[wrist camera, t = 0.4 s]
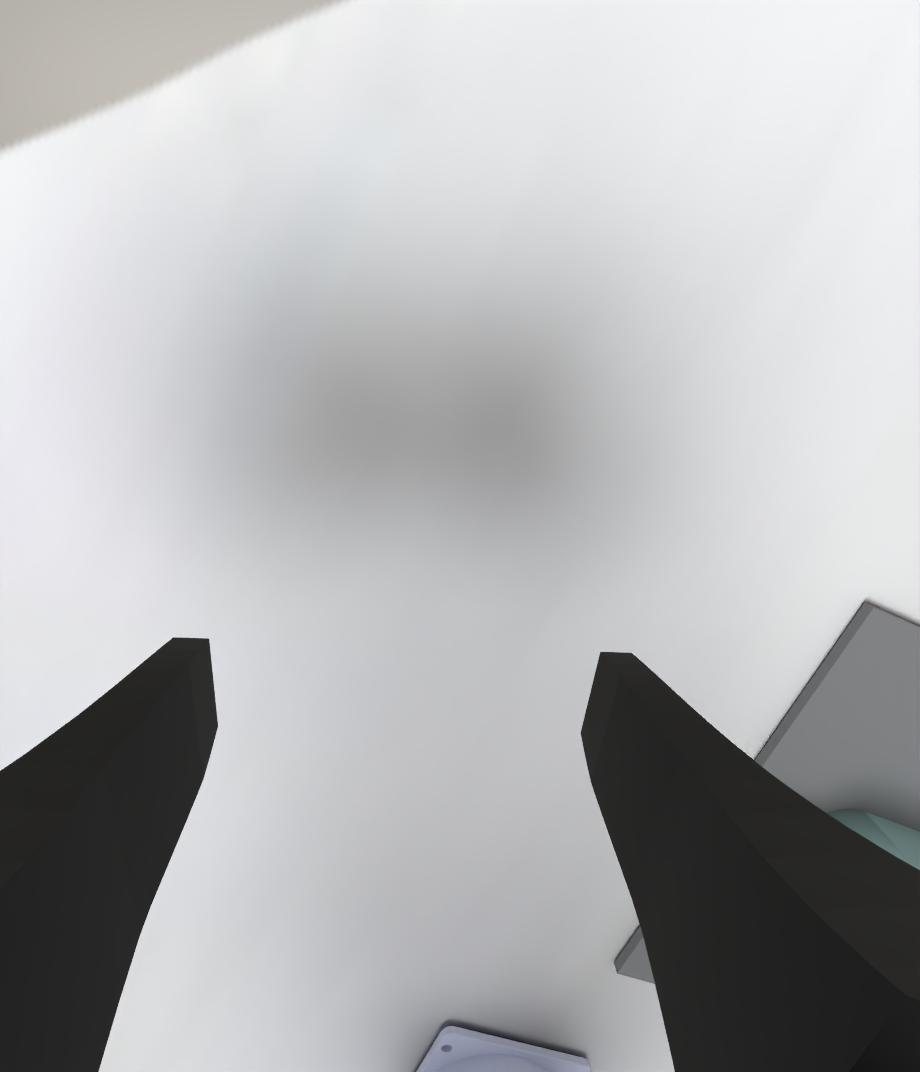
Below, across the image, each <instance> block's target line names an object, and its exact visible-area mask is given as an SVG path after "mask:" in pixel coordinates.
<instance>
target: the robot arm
mask: <svg viewBox="0 0 920 1072" xmlns="http://www.w3.org/2000/svg"><path fill="white" fill-rule="evenodd" d="M217 728H218V722H217V712H216V703H215V693H214V683H213V673H212V664H211V654H210V644H209V639H202V638H172V639H171V640H170V641H168V642H167V643H166V644H165V645H163V646H162V647H161V648H160V649H159V650H157V651H156V652H155V653H154V654H153V655H151V656H150V657H149V658H148V659H146V660H145V661H144V662H143V663H142V664H140V665H139V666H138V667H137V668H136V669H134V670H133V671H132V672H131V673H130V674H128V675H127V676H126V677H125V678H124V679H122V680H121V681H120V682H119V683H118V684H116V685H115V686H114V687H113V688H112V689H110V690H109V691H108V692H107V693H105V694H104V695H103V696H102V697H100V698H99V699H98V700H97V701H95V702H94V703H93V704H92V705H90V706H89V707H88V708H87V709H85V710H84V711H83V712H82V713H80V714H79V715H78V716H76V717H75V718H74V719H72V720H71V721H69V722H68V723H67V724H65V725H64V726H63V727H61V728H60V729H59V730H57V731H56V732H55V733H53V734H52V735H50V736H49V737H48V738H46V739H45V740H44V741H42V742H41V743H40V744H38V745H37V746H36V747H34V748H33V749H31V750H30V751H29V752H27V753H26V754H24V755H23V756H22V757H20V758H19V759H17V760H16V761H14V762H13V763H11V764H10V765H8V766H7V767H5V768H4V769H2V770H1V771H0V1072H98V1071H99V1068H100V1064H101V1061H102V1057H103V1054H104V1051H105V1047H106V1044H107V1041H108V1037H109V1034H110V1030H111V1027H112V1024H113V1020H114V1017H115V1013H116V1010H117V1007H118V1003H119V1000H120V997H121V994H122V991H123V987H124V984H125V981H126V978H127V975H128V971H129V968H130V965H131V962H132V959H133V955H134V952H135V949H136V946H137V943H138V939H139V936H140V933H141V931H142V928H143V925H144V923H145V920H146V917H147V915H148V912H149V909H150V907H151V904H152V902H153V899H154V897H155V895H156V892H157V890H158V887H159V885H160V883H161V880H162V878H163V875H164V873H165V871H166V868H167V866H168V863H169V861H170V859H171V856H172V854H173V852H174V849H175V847H176V844H177V842H178V840H179V837H180V835H181V832H182V830H183V828H184V825H185V823H186V820H187V818H188V816H189V813H190V811H191V808H192V806H193V803H194V801H195V799H196V796H197V794H198V791H199V789H200V786H201V784H202V781H203V778H204V775H205V771H206V768H207V765H208V761H209V758H210V754H211V750H212V747H213V743H214V739H215V735H216V731H217ZM581 737H582V742H583V747H584V752H585V757H586V762H587V766H588V770H589V775H590V779H591V783H592V786H593V789H594V792H595V795H596V798H597V801H598V804H599V807H600V810H601V813H602V816H603V818H604V821H605V824H606V827H607V830H608V833H609V835H610V838H611V841H612V844H613V847H614V850H615V852H616V855H617V858H618V861H619V864H620V866H621V869H622V872H623V875H624V878H625V881H626V883H627V886H628V889H629V892H630V895H631V897H632V900H633V904H634V907H635V910H636V913H637V917H638V920H639V923H640V926H641V930H642V934H643V938H644V942H645V946H646V950H647V954H648V958H649V962H650V966H651V970H652V974H653V978H654V982H655V986H656V990H657V994H658V998H659V1003H660V1007H661V1011H662V1016H663V1020H664V1025H665V1029H666V1033H667V1038H668V1042H669V1046H670V1051H671V1055H672V1060H673V1065H674V1069H675V1072H920V870H919V869H917V868H915V867H913V866H912V865H910V864H908V863H906V862H905V861H903V860H901V859H899V858H898V857H896V856H894V855H893V854H891V853H889V852H888V851H886V850H884V849H883V848H881V847H879V846H878V845H876V844H875V843H873V842H871V841H870V840H868V839H866V838H865V837H863V836H861V835H860V834H858V833H857V832H855V831H853V830H852V829H850V828H848V827H847V826H845V825H844V824H842V823H841V822H839V821H838V820H836V819H835V818H833V817H832V816H830V815H828V814H827V813H825V812H824V811H822V810H821V809H820V808H818V807H817V806H815V805H814V804H812V803H811V802H810V801H808V800H807V799H805V798H804V797H803V796H801V795H800V794H798V793H797V792H795V791H794V790H793V789H791V788H790V787H788V786H787V785H785V784H784V783H783V782H781V781H780V780H779V779H777V778H776V777H775V776H773V775H772V774H771V773H769V772H768V771H767V770H766V769H764V768H763V767H762V766H760V765H759V764H758V763H757V762H755V761H754V760H753V759H752V758H751V757H749V756H748V755H747V754H746V753H744V752H743V751H742V750H741V749H739V748H738V747H737V746H736V745H734V744H733V743H732V742H731V741H730V740H728V739H727V738H726V737H725V736H724V735H722V734H721V733H720V732H719V731H718V730H717V729H715V728H714V727H713V726H712V725H711V724H710V723H709V722H707V721H706V720H705V719H704V718H703V717H702V716H701V715H700V714H698V713H697V712H696V711H695V710H694V709H693V708H692V707H691V706H690V705H688V704H687V703H686V702H685V701H684V700H683V699H682V698H681V697H680V696H679V695H677V694H676V693H675V692H674V691H673V690H672V689H671V688H670V687H669V686H668V685H667V684H666V683H664V682H663V681H662V680H661V679H660V678H659V677H658V676H657V675H656V674H655V673H654V672H653V671H651V670H650V669H649V668H648V667H647V666H646V665H645V664H644V663H643V662H641V661H640V660H639V659H638V658H637V657H636V656H634V655H633V654H632V653H617V652H600V656H599V660H598V664H597V668H596V672H595V677H594V681H593V685H592V689H591V693H590V697H589V701H588V705H587V709H586V714H585V718H584V722H583V726H582V730H581ZM416 1072H591V1068H590V1064H589V1061H588V1060H587V1059H585V1058H583V1057H578V1056H574V1055H570V1054H566V1053H562V1052H558V1051H554V1050H550V1049H546V1048H542V1047H538V1046H533V1045H529V1044H525V1043H521V1042H517V1041H513V1040H509V1039H505V1038H501V1037H497V1036H492V1035H488V1034H484V1033H480V1032H476V1031H472V1030H468V1029H464V1028H460V1027H456V1026H447V1027H445V1028H444V1029H443V1030H442V1031H441V1032H440V1034H439V1035H438V1037H437V1039H436V1040H435V1042H434V1044H433V1045H432V1047H431V1048H430V1050H429V1052H428V1053H427V1055H426V1057H425V1058H424V1060H423V1062H422V1063H421V1065H420V1066H419V1068H418V1070H417V1071H416Z"/></svg>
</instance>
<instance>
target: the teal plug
mask: <svg viewBox="0 0 920 1072" xmlns="http://www.w3.org/2000/svg"><path fill="white" fill-rule="evenodd" d="M827 814H828V815H830V816H832V817H833V818H835V819H836V820H838V821H839V822H841V823H842V824H844V825H845V826H847V827H848V828H850V829H852V830H853V831H855V832H857V833H858V834H860V835H861V836H863V837H865V838H866V839H868V840H870V841H871V842H873V843H875V844H876V845H878V846H879V847H881V848H883V849H884V850H886V851H888V852H889V853H891V854H893V855H894V856H896V857H898V858H899V859H901V860H903V861H905V862H906V863H908V864H910V865H912V866H913V867H915V868H917V869H919V870H920V831H917V830H914V829H911V828H909V827H906V826H903V825H900V824H898V823H895V822H892V821H889V820H887V819H884V818H881V817H878V816H876V815H873V814H870V813H867V812H865V811H861V810H856V809H842V810H837V811H833V812H830V813H827Z"/></svg>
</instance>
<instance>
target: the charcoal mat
mask: <svg viewBox="0 0 920 1072" xmlns="http://www.w3.org/2000/svg"><path fill="white" fill-rule="evenodd" d="M755 762H757V763H758V764H759V765H760V766H762V767H763V768H764V769H766V770H767V771H768V772H769V773H771V774H772V775H773V776H775V777H776V778H777V779H779V780H780V781H781V782H783V783H784V784H785V785H787V786H788V787H790V788H791V789H793V790H794V791H795V792H797V793H798V794H800V795H801V796H803V797H804V798H805V799H807V800H808V801H810V802H811V803H812V804H814V805H815V806H817V807H818V808H820V809H821V810H822V811H824V812H825V813H830V812H833V811H837V810H842V809H856V810H861V811H865V812H867V813H870V814H873V815H876V816H878V817H881V818H884V819H887V820H889V821H892V822H895V823H898V824H900V825H903V826H906V827H909V828H911V829H914V830H917V831H920V626H918V625H916V624H913V623H911V622H909V621H907V620H904V619H902V618H900V617H898V616H895V615H893V614H891V613H889V612H886V611H884V610H882V609H880V608H877V607H875V606H873V605H871V604H868V603H866V602H864V604H863V605H862V606H861V608H860V609H859V611H858V612H857V614H856V615H855V617H854V618H853V619H852V621H851V622H850V624H849V625H848V627H847V628H846V630H845V631H844V632H843V634H842V635H841V637H840V638H839V640H838V641H837V642H836V644H835V645H834V647H833V648H832V650H831V651H830V653H829V654H828V655H827V657H826V658H825V660H824V661H823V663H822V664H821V666H820V667H819V668H818V670H817V671H816V673H815V674H814V676H813V677H812V678H811V680H810V681H809V683H808V684H807V686H806V687H805V689H804V690H803V691H802V693H801V694H800V696H799V697H798V699H797V700H796V702H795V703H794V704H793V706H792V707H791V709H790V710H789V712H788V713H787V714H786V716H785V717H784V719H783V720H782V722H781V723H780V725H779V726H778V727H777V729H776V730H775V732H774V733H773V735H772V736H771V738H770V739H769V740H768V742H767V743H766V745H765V746H764V748H763V749H762V750H761V752H760V753H759V755H758V756H757V758H756V759H755ZM614 964H615V967H616V971H617V973H618V974H621V975H625V976H629V977H632V978H636V979H640V980H643V981H647V982H650V983H654V984H655V982H654V978H653V974H652V970H651V966H650V962H649V958H648V954H647V950H646V946H645V942H644V938H643V934H642V930H641V926H639V928H638V929H637V930H636V932H635V933H634V935H633V936H632V938H631V939H630V941H629V942H628V943H627V945H626V946H625V948H624V949H623V951H622V952H621V954H620V955H619V956H618V958H617V959H616V961H615V962H614Z"/></svg>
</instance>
